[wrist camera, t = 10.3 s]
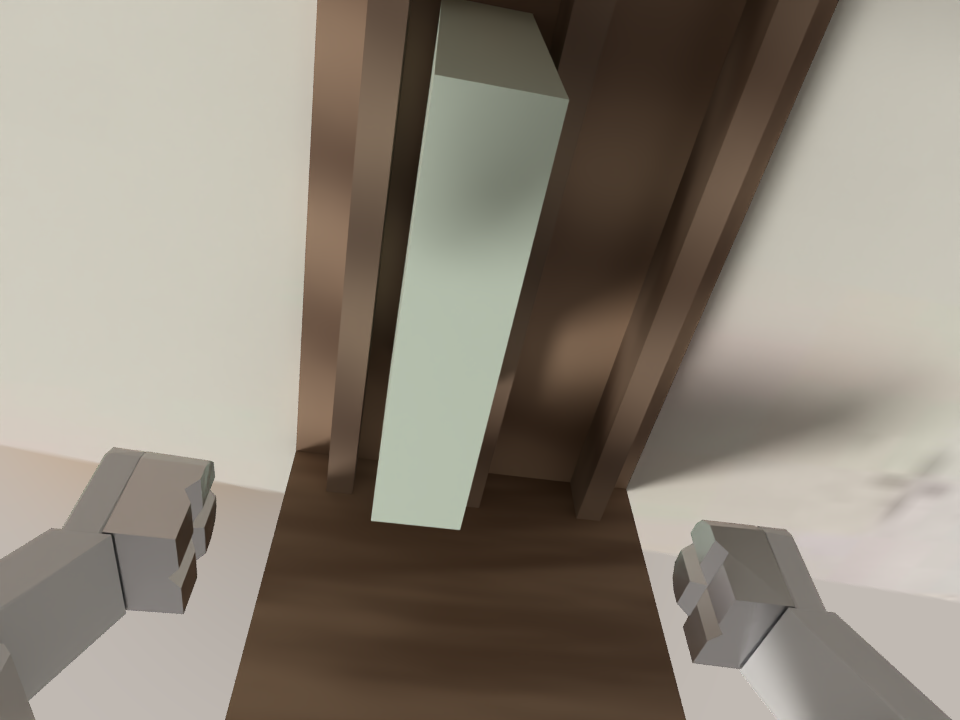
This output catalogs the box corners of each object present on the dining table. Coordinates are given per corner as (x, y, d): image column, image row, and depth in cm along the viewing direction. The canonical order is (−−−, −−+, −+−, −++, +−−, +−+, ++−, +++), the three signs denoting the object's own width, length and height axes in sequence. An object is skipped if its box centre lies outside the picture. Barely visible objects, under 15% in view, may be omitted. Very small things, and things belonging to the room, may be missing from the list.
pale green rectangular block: (442, -5, 19) (434, 74, 13) (532, 13, 20) (569, 99, 13) (392, 352, 26) (371, 521, 20) (459, 361, 26) (460, 529, 20)
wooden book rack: (342, -391, 16) (153, -767, 6) (920, -237, 17) (1503, -332, 8) (299, 459, 31) (225, 747, 21) (611, 495, 32) (677, 775, 23)
